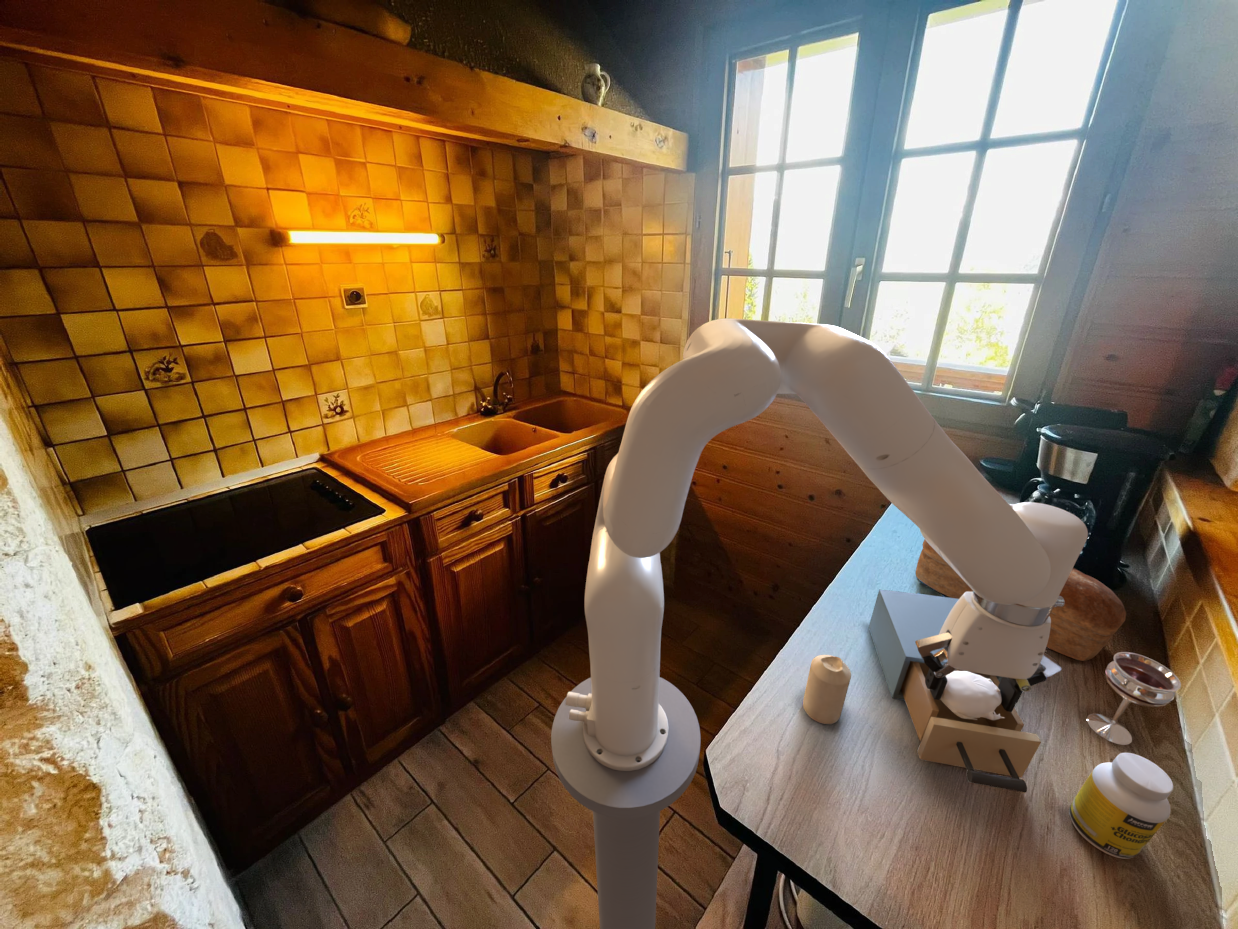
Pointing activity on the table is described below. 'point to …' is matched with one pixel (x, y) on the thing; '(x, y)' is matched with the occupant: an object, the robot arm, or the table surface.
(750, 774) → the table surface
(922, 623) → the cabinet
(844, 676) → the candle
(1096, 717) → the wineglass
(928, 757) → the drawer
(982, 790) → the table surface
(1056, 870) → the table surface
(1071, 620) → the bread
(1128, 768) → the pill bottle
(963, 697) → the garlic
